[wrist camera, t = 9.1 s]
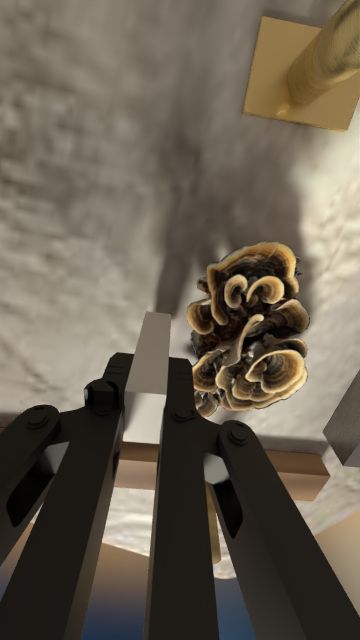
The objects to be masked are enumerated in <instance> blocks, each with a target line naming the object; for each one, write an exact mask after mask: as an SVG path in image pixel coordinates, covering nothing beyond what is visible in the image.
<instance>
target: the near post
mask: <svg viewBox="0 0 360 640" xmlns="http://www.w3.org/2000/svg"><path fill="white" fill-rule="evenodd" d="M359 97H360V0H347V1H346V2H345V3H344V4H343V5H342V6H341V7H340V9H339V10H338V11H337V12H336V13H335V14H334V15H333V17H332V18H331V19H330V20H329V21H328V22H327V24H326V25H325V26H324V27H323V28H318V27H313V26H308V25H304V24H299V23H294V22H289V21H284V20H280V19H275V18H270V17H265V16H262V18H261V20H260V25H259V30H258V35H257V40H256V45H255V50H254V55H253V60H252V65H251V70H250V75H249V80H248V85H247V90H246V95H245V100H244V105H243V110H242V113H243V114H249V115H254V116H260V117H265V118H271V119H277V120H282V121H288V122H293V123H299V124H304V125H310V126H315V127H321V128H327V129H332V130H338V131H343V132H344V131H346V130H348V127H349V124H350V122H351V119H352V116H353V113H354V111H355V108H356V105H357V102H358V99H359Z"/></svg>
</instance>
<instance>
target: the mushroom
mask: <svg viewBox="0 0 360 640" xmlns="http://www.w3.org/2000/svg"><path fill="white" fill-rule="evenodd" d="M300 260H301V258H299V257H297V256H294V254H293V251H292V249H291V248H290V247H288V246H286V245H283V244H281V243H278V242H265V241H263V242H260V243H257V244H256V245H254V246H249V247H248V246H243V247H241V248H239V249H237V250H235V251H233V252H232V253H230V254H228V255H227V256H225V257H224V258H223V259H222V260H221V261H220V262H212V263H211V264H209V266H207V271H206V273H207V277H203V278H199V279H198V280H197V288H198V289H199V290H202V291H203V292H204V294H205V295H206V294H208V295H209V299H203V300H200V301H197V302H193V303H191V304H190V305H189V306H188V307H187V321H188V323H189V324H190V326H191V327H192V328H193V329H194V330H193V332H192V333H190V337H191V341H192V343H193V347H194V351H195V354H196V356H197V358H198V361H197V362H196V364H194V365H193V366H192V369H193V382H194V390H195V391H194V394H195V405H196V407H198V409H197V410H198V412H199V413H200V415H201V416H203V417H209V416H210V415H212V414H213V413H214V412H215V411H216V409H217V406H222V407H223V408H224V409H226V410H230V411H249V410H252V409H254V408H256V409H262V408H266V407H268V406H270V405H272V404H273V403H276V402H278V401H280V400H286V399H288V398H289V397H290V396H292V395H293V394H294V393H295V392H297V391H298V390H299V389H300V387H301V386H302V385H304V383H305V382H306V381H307V378H308V373H307V369H306V367H305V360H304V358H305V357H306V355H307V346H306V344H305V342H304V341H303V340H301V339H298V338H289V337H290V336H292V335H296V334H300V333H302V332H304V330H306V329H307V327H308V326H309V323H310V318H309V315H308V313H307V311H306V310H305V308H304V307H303V306H302V305H301V304H300V302H299V301H298V299H296V298H295V296H296V294H297V293H298V291H299V284H298V281H297V279H296V278H295V275H296V273H297V272H298V271H296V270H297V269H296V268H295V267H296V264H297V263H298V262H299V261H300ZM297 275H301V273H298V274H297ZM288 338H289V339H288ZM202 394H204V396H203V399H202V397H201V395H202Z"/></svg>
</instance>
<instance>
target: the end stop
mask: <svg viewBox="0 0 360 640" xmlns="http://www.w3.org/2000/svg"><path fill="white" fill-rule="evenodd" d="M323 434H324V435H325V437H326V439H327V440H328V442H329V444H330V445H331V447H332V449H333V450H334V452H335V454H336V455H337V457H338V459H339V460H340V462H341V464H342V465H343V466H349V467H360V371H359V372H358V374H357V376H356V377H355V379H354V381H353V382H352V384H351V386H350V387H349V389H348V391H347V392H346V394H345V396H344V397H343V399H342V401H341V403H340V404H339V406H338V408H337V409H336V411H335V413H334V414H333V416H332V418H331V419H330V421H329V423H328V424H327V426H326V428H325V429H324V431H323Z"/></svg>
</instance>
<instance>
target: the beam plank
mask: <svg viewBox="0 0 360 640" xmlns="http://www.w3.org/2000/svg"><path fill="white" fill-rule="evenodd" d="M4 429H5V428H3V427H0V433H1V432H2V431H3V430H4ZM158 451H159V444H153V443H140V442H128V441H123V439H122V444H121V455H120V460H119V464H118V469H117V474H116V478H115V483H114V487H120V488H134V489H147V490H155V484H156V472H157V469H156V466H157V458H158ZM264 451H265V452H266V454H267V456H268V458H269V459H270V461H271V463H272V465H273V466H274V468H275V470H276V472H277V473H278V475H279V477H280V479H281V480H282V482H283V484H284V486H285V487H286V489H287V491H288V493H289V494H290V496H291V498H292V500H300V501H314V499H315V498H316V496H317V495H318V494H319V492H320V491H321V489H322V488H323V487H324V485H325V484H326V482H327V481H328V479H329V478H330V477H331V476H330V474H329V472H328V471H327V469H326V467H325V465H324V463H323V461H322V459H321V457H320V456H319V455H318V454H307V453H295V452H283V451H272V450H264ZM205 485H206V496H207V507H208V518H209V530H210V541H211V552H212V563H213V564H216V563H218V562H220V561H221V553H220V544H219V536H218V527H217V518H216V510H215V507H214V504H213V501H212V498H211V494H210V491H209V488H208V485H207V481H205Z"/></svg>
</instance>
